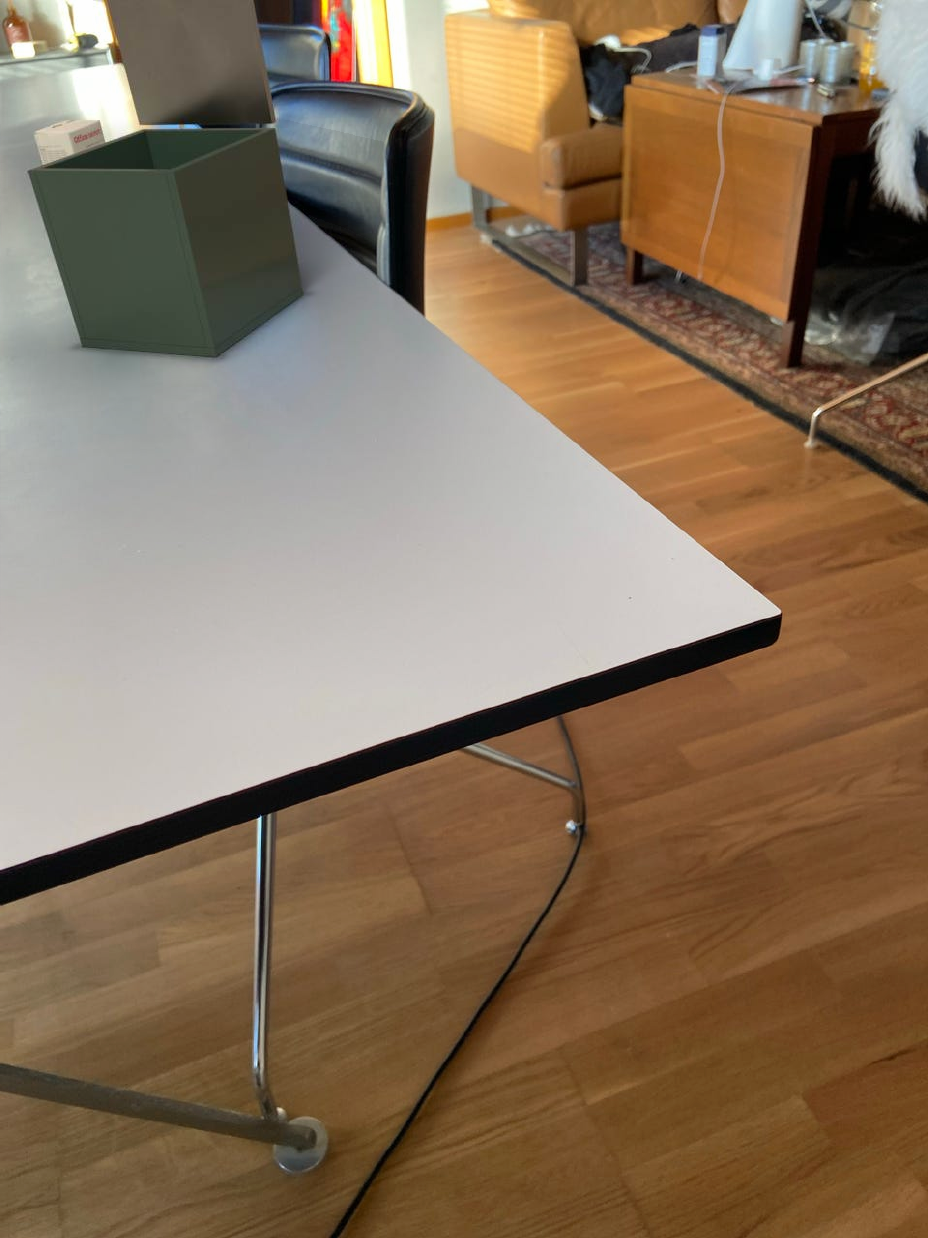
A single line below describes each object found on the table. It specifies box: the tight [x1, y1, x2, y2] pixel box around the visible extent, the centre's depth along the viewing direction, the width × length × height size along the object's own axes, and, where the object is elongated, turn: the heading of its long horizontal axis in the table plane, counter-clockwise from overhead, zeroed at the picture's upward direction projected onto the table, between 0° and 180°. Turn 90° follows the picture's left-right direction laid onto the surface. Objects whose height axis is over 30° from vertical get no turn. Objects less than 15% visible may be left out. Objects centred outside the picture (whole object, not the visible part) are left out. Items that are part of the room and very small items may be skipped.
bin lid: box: [106, 0, 277, 126], centre depth 87 cm, size 18×15×1 cm
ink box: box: [33, 119, 106, 165], centre depth 125 cm, size 9×5×12 cm, turn 170°
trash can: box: [27, 127, 304, 358], centre depth 91 cm, size 17×15×15 cm
